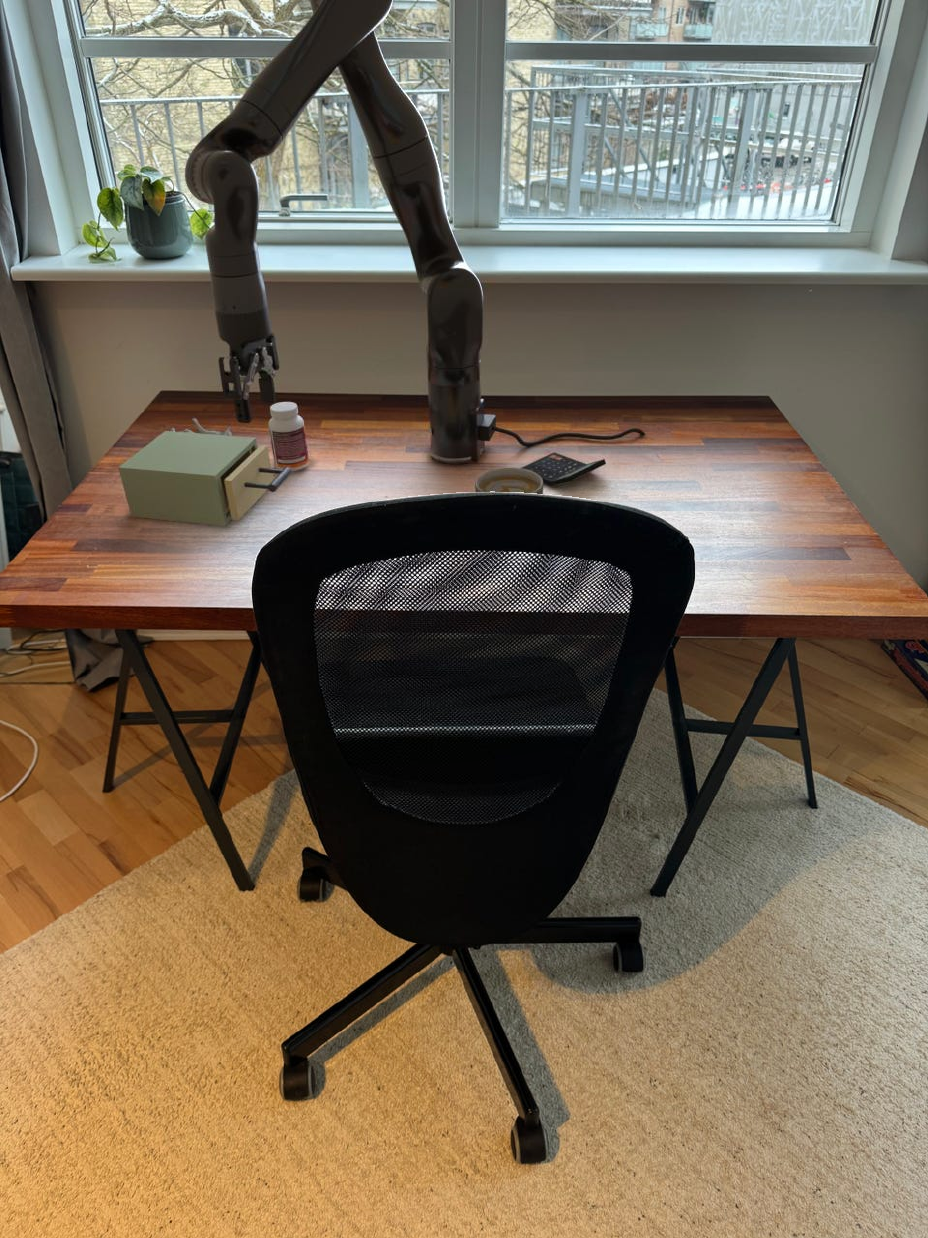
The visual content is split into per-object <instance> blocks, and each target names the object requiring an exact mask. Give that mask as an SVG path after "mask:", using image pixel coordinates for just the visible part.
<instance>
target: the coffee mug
mask: <svg viewBox="0 0 928 1238" xmlns="http://www.w3.org/2000/svg"><path fill="white" fill-rule="evenodd" d="M490 491H495V492H524V493H537V494H543V495H544V483H543V480H542V478H541V477H540V476H539V475H538V474H536V473H535V472H532V471H530V470H526V469H522V467H498V468H493V469H489V470H486V471H484V472H482V473H480V474H479V475H478V476H477V477H476V478H475V481H474V493H475V492H490Z"/></svg>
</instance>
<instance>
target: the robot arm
mask: <svg viewBox="0 0 928 1238" xmlns="http://www.w3.org/2000/svg"><path fill="white" fill-rule="evenodd" d="M393 1H394V0H309V3H310V7H311V11H312V15H311V16H310V18H309V19H308V21H307V22H306V23H305V24H304V26H303V27H302V28H301V29H300V30H299V31H298V32H297V34H296V35H294V37H293V38H292V39H291V40H290V41H289V42H288V43H287V44H286V45H285V46H284V47H283V48H282V49H281V50H279V52H278V53H277V54H276V55H275V56H274V57H273V58H272V59H271V60H270V61H269V62H268V63H267V64H266V65H265V66H264V67H263V68H262V69H261V71H260V72H259V73H258V75H256V77H255V78H254V80H253V81H252V82H251V84H250V85H249V86H248V88H247V89H246V90H245V92H244V94H243V95H242V96H241V97H240V99H239V100H238V102H237V103H236V105H235V106H234V108H233V110H232V111H231V112H230V113H229V114H228V115H227V116H226V117H225V118H223V119H222V120H221V121H220V122H219V123H217V124H216V125H215V126H214V127H213V128H212V129H210V131H209V132H208V133H206V135H205V136H204V137H202V139H200V141H199V142H198V143H197V144H196V145H195V146H194V147H193V149H192V151H190V154H189V155H188V158H187V160H186V164H185V166H184V167H185V168H184V180H185V185H186V187H187V189H188V191H189V192H190V193H191V195H192V196H193V197H194V198H196V199H197V200H198V201H200V202H201V203H204V204H208V205H212V206H213V215H214V216H213V221H214V224H213V225H214V226H212V227H210V228H209V229H208V230H207V231H205V235H204V242H205V243H204V244H205V252H206V257H207V263H208V270H209V274H210V290H211V297H212V302H213V308H214V315H215V320H216V326H217V331H218V337H219V338H220V340H221V341H223V342H226V344H228V346H229V347H228V348H229V353H228V356H227V357H225V356H220V357H218V368H219V374H220V382H221V389H222V395H223V398H224V399H227V400H233V404H234V411H235V417H236V421H237V422H238V423H240V424H241V423H242V424H250V423H251V422H252V421H253V415H252V407H251V401H250V398H249V396H250V388H251V386H253V384H254V383H255V377H256V375H257V377H259V378H258V386H259V392H260V393H259V394H260V400H261V402H262V403H266V404H273V403H275V402H276V401H277V397H276V396H277V395H276V389H275V383H274V378H275V377H276V371H279V370H280V362H279V361H280V360H279V355H278V348H277V343H276V337H275V333H274V332H273V331H272V327H271V320H270V313H269V306H268V299H267V292H266V286H265V281H264V278H263V274H262V269H261V262H260V256H259V255H260V254H259V247H258V243H257V233H258V227H259V226H258V225H259V213H260V212H259V211H260V183H259V180H258V176H257V173H256V170H255V168H254V165H253V163H254V162H255V161H257V160H258V159H262V158H267V157H269V156H270V155H272V154H273V153H274V152H275V151H276V150H277V149H278V148H279V146H281V144H282V142H283V141H284V140H285V139H286V137H287V135H288V134H289V133H290V131H291V130H292V128H293V127H294V125H295V124H296V122H297V121H298V120H299V118H300V117H301V115H302V114H303V113H304V111H305V110H306V108H307V107H308V105H309V104H310V103H311V102H312V100H313V98H314V97H315V96H316V94H317V93H318V92H319V91H320V89H321V88H322V87H323V85H324V84H325V83H326V81H328V79H329V78H330V77H331V75H332V74H333V73H334V72H335V70H336V69H338V71H339V73H340V76H341V78H342V80H343V82H344V84H345V85H344V86H345V88H346V90H347V92H348V96H349V99H350V102H351V105H352V106H353V110H354V112H355V115H356V117H357V120H358V122H359V126H360V128H361V130H362V133H363V136H364V138H365V141H366V144H367V147H368V151H369V154H370V157H371V160H372V162H373V164H374V167H375V171H376V174H377V175H378V179H379V182H380V183H381V186H382V188H383V191H384V193H385V196H386V198H387V200H388V203H389V205H390V207H391V209H392V211H393V213H394V215H395V217H396V219H397V221H398V223H399V224H400V227H401V229H402V231H403V234H404V235H405V238H406V241H407V244H408V248H409V250H410V254H411V257H412V261H413V265H414V269H415V273H416V277H417V281H418V285H419V290H420V295H421V298H422V300H423V302H424V304H425V305H426V317H427V318H426V319H427V344H426V347H425V352H426V353H425V355H426V376H427V377H426V378H427V390H428V391H427V395H428V397H427V398H428V414H429V415H428V416H429V424H428V423H427V424H428V425H427V426H428V427H427V428H428V432H429V435H430V456H431V458H432V459H433V460H435V461H437V462H439V463H444V464H450V465H459V464H467V463H478V462H479V461H480V459H481V457H482V456H483V453H484V451H485V449H486V445H485V443H486V442H490V441H491V439H492V437H493V435H494V434H495V432H498V433H501V434H505V435H509V436H511V437H512V438H514V439H515V440H516V441H517V442H518V444H520V445H521V446H524V447H534V446H537V445H541V444H543V443H547V442H549V441H552V440H555V439H560V438H580V439H589V440H598V441H611V440H612V441H614V440H617V439H621V438H622V437H626V436H627V435H629V434H633V433H637V434H639V435H641V436H645V435H646V433H645V432H644V431H643V430H642V429H640V428H637V427H631V428H628V429H627V430H624V431H622V432H620V433H618V434H613V435H596V434H589V433H579V432H560V433H556V434H555V433H554V434H552V435H549V436H547V437H544V438H541V439H539V440H535V441H524V440H523V439H522V437H521V436H520V435H518V434H517V433H516V432H514V431H511V430H509V429H505V428H502V427H498V426H497V414H486V413H485V400H484V398H482V380H481V376H482V375H481V373H482V372H481V350H482V347H483V343H484V294H483V288H482V285H481V282H480V280H479V278H478V276H477V275H476V274H475V272H473V270H471V268H470V267H469V266H468V264H467V262H466V260H465V258H464V256H463V254H462V252H461V250H460V247H459V245H458V243H457V240H456V237H455V235H454V233H453V230H452V228H451V225H450V221H449V217H448V213H447V205H446V199H445V198H446V197H445V191H444V186H443V180H442V174H441V170H440V167H439V166H440V165H439V162H438V158H437V154H436V151H435V148H434V145H433V142H432V139H431V136H430V134H429V133H430V132H429V130H428V127H427V125H426V123H425V121H424V118H423V117H422V115H421V113H420V112H419V110H418V109H417V107H416V105H415V104H414V103H413V101H412V100H411V98H410V97H409V95H408V94H407V93H406V91H405V90H404V89H403V88H402V87H401V85H400V84H399V82H398V81H397V80H396V78H395V77H394V75H393V73H392V71H391V70H390V69H389V67H388V65H387V62H386V60H385V59H384V58H385V57H384V55H383V53H382V50H381V47H380V44H379V41H378V38H377V35H376V32H375V29H376V28H377V27H378V26H379V25H381V23H382V22H383V21H384V20H385V19H386V17H387V16H388V15H389V12H390V10H391V9H392V5H393ZM270 357H271V358H270Z"/></svg>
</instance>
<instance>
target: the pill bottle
mask: <svg viewBox="0 0 928 1238" xmlns="http://www.w3.org/2000/svg"><path fill="white" fill-rule="evenodd" d="M269 412H270V417H271V418H270V419H269V421H268V424H267V425H268V433H269V438H270V444H271V451H272V457H273V462H274V466H275V469H282V470H283V469H284V468H286V467H289V468H290V469H291V470H292V472H297V471H301V470H303V469H305V468H306V467H307V466H309V463H310V457H309V449H308V442H307V435H306V429H305V428H306V427H305V420H304V418H302V416H300V415H299V409H298V405H297V403H296V402H292V401H281V402H280V401H279V402H276V403H274V404H273V403H272V405H271V406H270V407H269Z"/></svg>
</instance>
